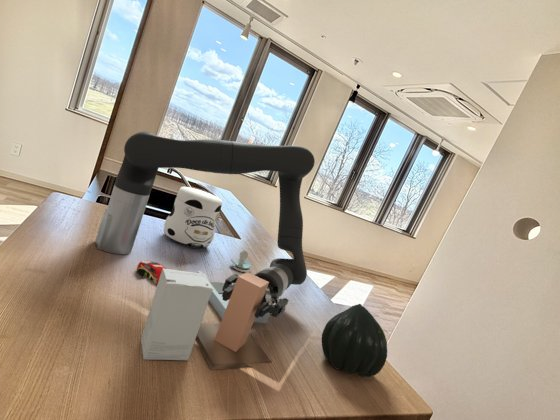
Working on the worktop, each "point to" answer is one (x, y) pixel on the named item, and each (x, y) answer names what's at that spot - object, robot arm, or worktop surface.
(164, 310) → the skincare box
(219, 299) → the grey channel
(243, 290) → the terracotta block
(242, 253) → the pacifier
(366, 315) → the squash
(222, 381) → the worktop surface
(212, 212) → the milk container
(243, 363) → the walnut board
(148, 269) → the race car
